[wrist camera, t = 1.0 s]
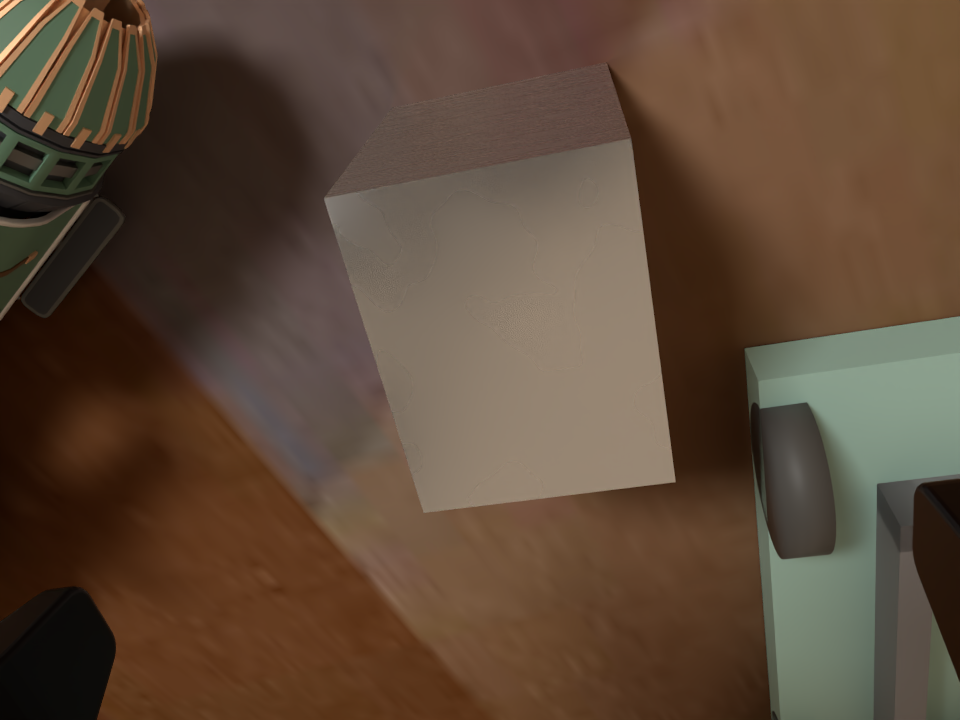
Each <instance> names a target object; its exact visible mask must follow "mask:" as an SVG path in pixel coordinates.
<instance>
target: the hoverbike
mask: <svg viewBox="0 0 960 720" xmlns="http://www.w3.org/2000/svg"><path fill="white" fill-rule="evenodd" d="M157 56H158V55H157V50H156V45H155V40H154V35H153V30H152V25H151V20H150V15H149V13H148V11H147V10H146V8H145V4H144V3H143V1H142V0H137V3H136V0H0V321H1V319H2V318H3V317H4V315H5V314H6V313H7V311H8V310H9V309H10V307H11V306H12V305H13V303H14V302H15V301H16V299H20V296H19V295H20V294H21V293H22V291H23V290H24V289H25V287H26V286H27V285H28V283H29V282H30V281H31V280H32V278H33V277H34V276H35V274H36V273H37V272H38V270H39V269H40V268H41V266H42V265H43V264H44V262H45V261H46V260H47V258H48V257H49V256H50V254H51V253H52V252H53V251H54V250H55V249H56V248H57V247H58V246H59V245H60V246H59V247H58V248H57V250H56V251H55V252H54V253H53V255H52V256H51V257H50V259H49V260H48V261H47V263H46V264H45V265H44V267H43V268H42V269H41V271H40V272H39V273H38V275H37V276H36V277H35V279H34V280H33V281H32V283H31V284H30V285H29V287H28V288H27V289H26V291H25V292H24V293H23V295H22V297H21V302H22V303H23V304H24V306H25V307H27V308H28V309H29V310H31V311H32V312H33V313H35V314H36V315H38V316H40V317H43V318H46V317H49V316H50V315H51V314H52V313H53V312H54V310H55V309H56V308H57V307H58V305H59V304H60V303H61V302H62V300H63V299H64V298H65V297H66V295H67V294H68V293H69V292H70V290H71V289H72V288H73V286H74V285H75V284H76V283H77V281H78V280H79V279H80V278H81V276H82V275H83V274H84V273H85V271H86V270H87V269H88V268H89V266H90V265H91V264H92V262H93V261H94V260H95V259H96V257H97V256H98V255H99V254H100V252H101V251H102V250H103V249H104V247H105V246H106V245H107V244H108V242H109V241H110V240H111V238H112V237H113V236H114V235H115V233H116V232H117V231H118V230H119V228H120V227H121V226H122V225H123V223H124V221H125V215H124V214H123V212H122V211H121V210H120V209H119V208H118V207H117V206H116V205H114V204H113V203H112V202H111V201H110V200H108V199H107V198H104V197H102V196H100V197H98V192H99V191H100V190H101V188H102V184H103V179H104V172H105V171H106V170H107V168H108V167H109V166H110V164H111V163H112V162H113V160H114V159H115V158H116V156H117V155H118V154H120V153H122V152H123V150H124V149H126V148H128V147H129V146H130V145H131V143H132V142H133V141H134V139H135V138H136V137H137V136H138V135H140V134H141V133H142V131H143V130H144V129H145V127H146V126H147V125H148V121H149V118H150V117H149V112H150V111H151V108H152V100H153V91H154V83H155V74H156V65H157ZM94 197H98V198H96V199H95V200H94V201H93V199H94ZM30 216H31V217H30ZM26 217H30V218H29V219H22V218H26ZM10 218H19V219H10ZM76 220H77V221H78V222H77V223H76V224H75V226H74V227H73V228H72V230H71V231H70V232H69V234H68V235H67V236H66V238H65V239H64V237H65V234H66V233H67V232H68V230H69V229H70V228H71V226H72V225H73V224H74V222H75V221H76ZM63 239H64V240H63ZM62 240H63V242H62ZM61 242H62V243H61Z"/></svg>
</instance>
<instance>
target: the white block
mask: <svg viewBox="0 0 960 720" xmlns="http://www.w3.org/2000/svg"><path fill="white" fill-rule="evenodd" d="M324 201H325V204H326V207H327V210H328V213H329V216H330V219H331V223H332V226H333V229H334V232H335V235H336V238H337V241H338V245H339V248H340V251H341V254H342V257H343V260H344V263H345V267H346V270H347V273H348V276H349V279H350V282H351V285H352V289H353V292H354V295H355V298H356V301H357V304H358V307H359V311H360V314H361V317H362V320H363V323H364V326H365V330H366V333H367V336H368V339H369V342H370V345H371V348H372V352H373V355H374V358H375V361H376V364H377V367H378V370H379V374H380V377H381V380H382V383H383V386H384V389H385V392H386V396H387V399H388V402H389V405H390V408H391V411H392V414H393V418H394V421H395V424H396V427H397V430H398V433H399V436H400V440H401V443H402V446H403V449H404V452H405V455H406V459H407V462H408V465H409V468H410V471H411V474H412V477H413V481H414V484H415V487H416V490H417V493H418V496H419V499H420V503H421V506H422V509H423V512H424V513H426V512H435V511H443V510H451V509H459V508H467V507H476V506H484V505H492V504H500V503H508V502H516V501H525V500H533V499H541V498H549V497H557V496H566V495H574V494H582V493H590V492H598V491H607V490H615V489H623V488H631V487H639V486H648V485H656V484H664V483H672V482H676V481H675V473H674V466H673V458H672V450H671V442H670V435H669V427H668V419H667V411H666V404H665V396H664V388H663V380H662V373H661V365H660V357H659V349H658V342H657V334H656V326H655V318H654V311H653V303H652V295H651V287H650V280H649V272H648V264H647V256H646V249H645V241H644V233H643V226H642V218H641V210H640V202H639V195H638V187H637V179H636V171H635V164H634V156H633V148H632V140H631V136H630V133H629V130H628V127H627V124H626V121H625V118H624V115H623V112H622V108H621V105H620V102H619V99H618V96H617V93H616V90H615V87H614V84H613V81H612V78H611V75H610V72H609V68H608V65H607V62H606V63H602V64H597V65H592V66H587V67H583V68H578V69H573V70H568V71H564V72H559V73H554V74H549V75H545V76H540V77H535V78H531V79H526V80H521V81H516V82H512V83H507V84H502V85H497V86H493V87H488V88H483V89H478V90H474V91H469V92H464V93H459V94H455V95H450V96H445V97H441V98H436V99H431V100H426V101H422V102H417V103H412V104H407V105H403V106H398V107H393V108H392V109H391V110H390V111H389V113H388V114H387V115H386V117H385V118H384V119H383V121H382V122H381V123H380V125H379V126H378V127H377V129H376V130H375V131H374V133H373V134H372V135H371V136H370V138H369V139H368V140H367V142H366V143H365V144H364V146H363V147H362V148H361V150H360V151H359V152H358V154H357V155H356V156H355V158H354V159H353V160H352V162H351V163H350V164H349V166H348V167H347V168H346V170H345V171H344V172H343V174H342V175H341V176H340V178H339V179H338V180H337V181H336V183H335V184H334V185H333V187H332V188H331V189H330V191H329V192H328V193H327V195H326V196H325V197H324Z"/></svg>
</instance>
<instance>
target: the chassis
mask: <svg viewBox="0 0 960 720" xmlns="http://www.w3.org/2000/svg"><path fill="white" fill-rule="evenodd" d="M744 350H745V363H746V377H747V391H748V404H749V418H750V432H751V445H752V459H753V473H754V486H755V500H756V514H757V527H758V541H759V555H760V568H761V582H762V596H763V609H764V623H765V637H766V650H767V664H768V678H769V691H770V705H771V719H772V720H960V682H959V679H958V677H957V674H956V672H955V669H954V666H953V664H952V661H951V659H950V656H949V653H948V651H947V648H946V646H945V643H944V641H943V638H942V635H941V633H940V630H939V628H938V625H937V622H936V620H935V617H934V615H933V612H932V609H931V607H930V604H929V602H928V599H927V596H926V594H925V591H924V589H923V586H922V584H921V581H920V578H919V576H918V573H917V570H916V567H915V563H914V558H913V551H912V537H913V506H914V493H915V490H916V487H917V486H919V485H920V484H921V483H924V482H930V481H939V480H947V479H955V478H959V479H960V316H959V317H953V318H946V319H939V320H933V321H926V322H919V323H912V324H906V325H899V326H892V327H885V328H879V329H872V330H865V331H858V332H852V333H845V334H838V335H831V336H825V337H818V338H811V339H804V340H798V341H791V342H784V343H777V344H771V345H764V346H757V347H750V348H744Z"/></svg>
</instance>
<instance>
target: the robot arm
mask: <svg viewBox="0 0 960 720" xmlns="http://www.w3.org/2000/svg"><path fill="white" fill-rule="evenodd" d="M912 551H913V558H914V563H915V567H916V570H917V573H918V576H919V578H920V581H921V584H922V586H923V589H924V591H925V594H926V596H927V599H928V602H929V604H930V607H931V609H932V612H933V615H934V617H935V620H936V622H937V625H938V628H939V630H940V633H941V635H942V638H943V641H944V643H945V646H946V648H947V651H948V653H949V656H950V659H951V661H952V664H953V666H954V669H955V672H956V674H957V677H958V679H959V682H960V479H959V478H955V479H947V480H939V481H930V482H924V483H921V484H920V485H919V486H917V487H916V490H915V493H914V506H913V537H912ZM115 653H116V642H115V638H114V635H113V633H112V631H111V629H110V627H109V626H108V624H107V623H106V621H105V619H104V618H103V616H102V614H101V613H100V611H99V609H98V608H97V606H96V604H95V603H94V601H93V600H92V598H91V596H90V595H89V593H88V592H87V591H86V590H84V589H83V588H81V587H76V586H72V587H64V588H56V589H50V590H46V591H44V592H42V593H40V594H38V595H37V596H36V597H34V598H33V599H31V600H30V601H29V602H27V603H26V604H24V605H23V606H22V607H20V608H19V609H17V610H16V611H15V612H13V613H12V614H10V615H9V616H8V617H6V618H5V619H3V620H2V621H1V622H0V720H97V717H98V714H99V710H100V707H101V703H102V700H103V696H104V693H105V690H106V686H107V683H108V679H109V676H110V672H111V669H112V666H113V662H114V659H115Z"/></svg>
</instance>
